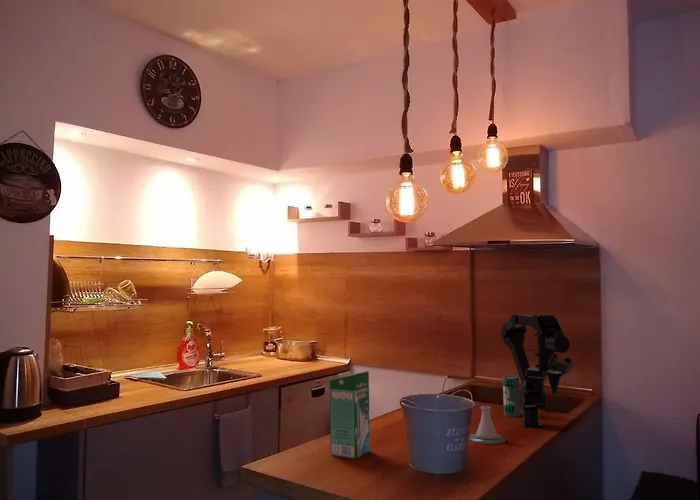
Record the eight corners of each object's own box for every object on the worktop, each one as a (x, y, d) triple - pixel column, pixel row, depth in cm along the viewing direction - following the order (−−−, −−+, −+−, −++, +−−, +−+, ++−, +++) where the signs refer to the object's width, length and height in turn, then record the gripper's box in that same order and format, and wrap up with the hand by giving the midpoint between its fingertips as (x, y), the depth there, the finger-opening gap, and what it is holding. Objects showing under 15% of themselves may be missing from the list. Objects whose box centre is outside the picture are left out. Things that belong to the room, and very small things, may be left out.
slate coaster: (466, 434, 190) (466, 433, 190) (501, 434, 190) (501, 433, 190) (472, 444, 178) (471, 442, 178) (509, 444, 178) (509, 442, 178)
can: (501, 413, 222) (500, 376, 223) (515, 413, 223) (514, 375, 225) (508, 417, 216) (507, 378, 218) (523, 416, 217) (521, 377, 219)
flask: (471, 437, 184) (470, 407, 185) (482, 433, 189) (481, 404, 190) (491, 441, 179) (490, 410, 180) (501, 437, 185) (500, 406, 185)
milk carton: (345, 447, 177) (344, 368, 179) (370, 451, 172) (368, 370, 174) (330, 454, 169) (329, 372, 171) (355, 459, 164) (354, 374, 166)
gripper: (554, 353, 181) (556, 402, 180) (580, 349, 193) (583, 394, 192) (523, 351, 189) (525, 397, 188) (551, 347, 201) (553, 390, 200)
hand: (548, 395), depth 192 cm, fingers open, 9 cm apart
